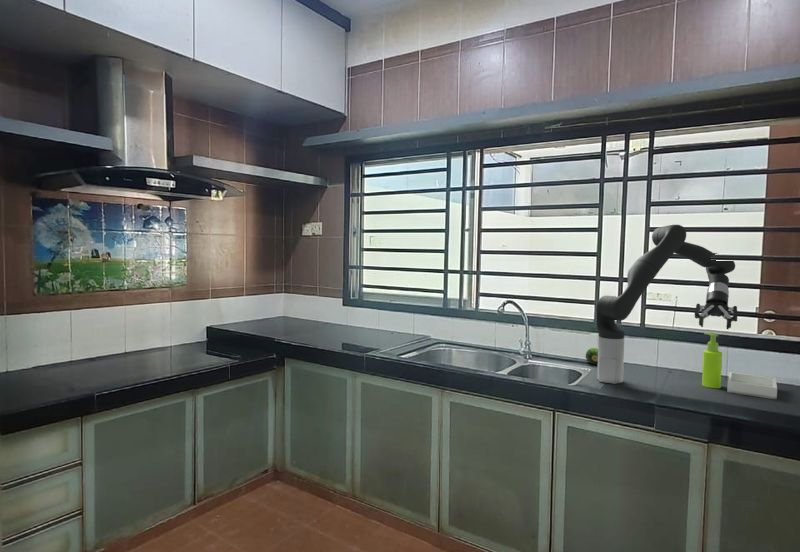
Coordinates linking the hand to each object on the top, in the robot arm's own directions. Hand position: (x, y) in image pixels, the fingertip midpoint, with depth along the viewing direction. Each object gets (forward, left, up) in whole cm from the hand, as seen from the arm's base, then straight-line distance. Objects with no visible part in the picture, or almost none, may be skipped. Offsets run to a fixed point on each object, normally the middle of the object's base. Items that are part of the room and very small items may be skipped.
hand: (714, 326), depth 187 cm
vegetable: (+3, +46, -21) cm, 51 cm away
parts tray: (-10, -12, -21) cm, 26 cm away
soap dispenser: (-12, 0, -21) cm, 24 cm away
